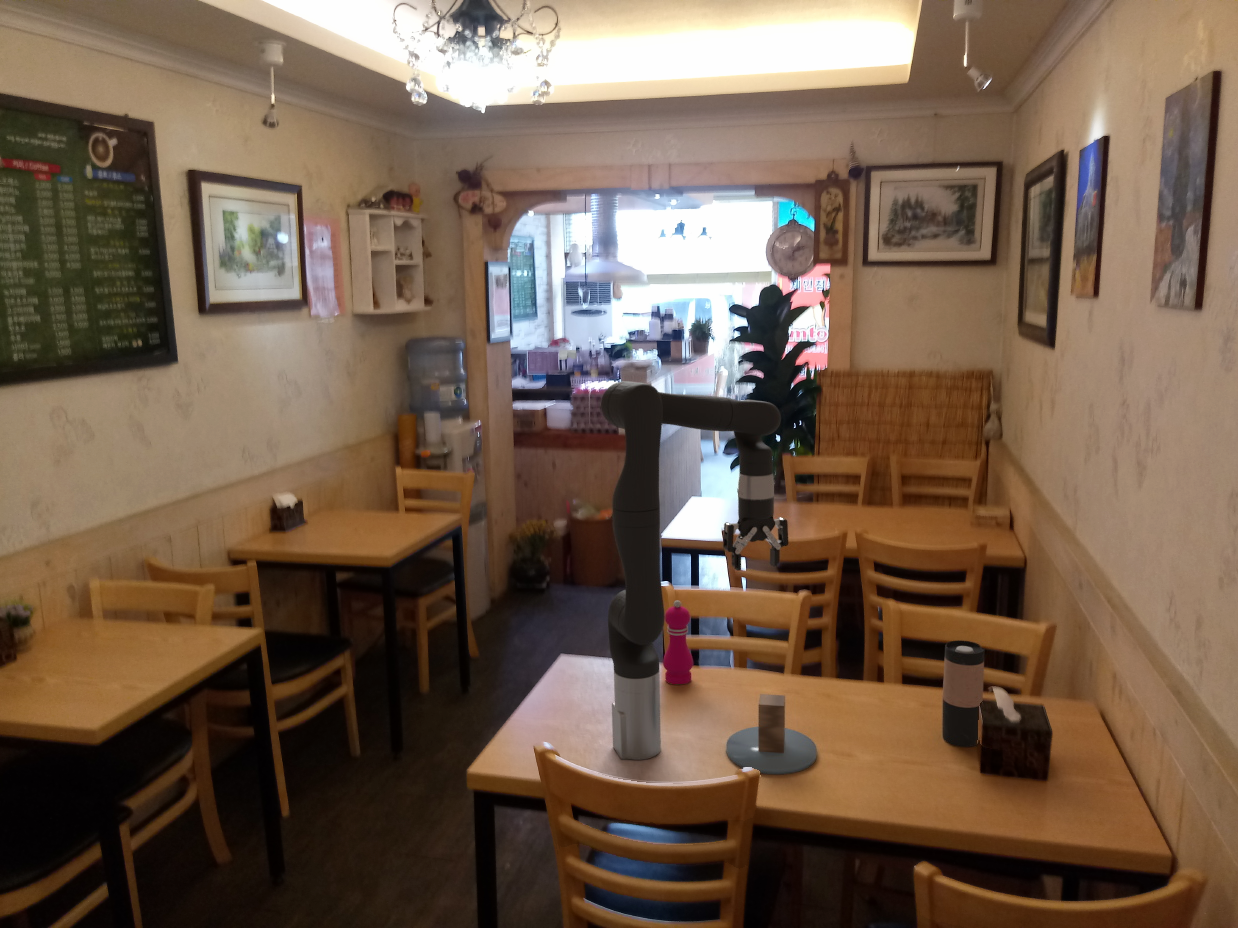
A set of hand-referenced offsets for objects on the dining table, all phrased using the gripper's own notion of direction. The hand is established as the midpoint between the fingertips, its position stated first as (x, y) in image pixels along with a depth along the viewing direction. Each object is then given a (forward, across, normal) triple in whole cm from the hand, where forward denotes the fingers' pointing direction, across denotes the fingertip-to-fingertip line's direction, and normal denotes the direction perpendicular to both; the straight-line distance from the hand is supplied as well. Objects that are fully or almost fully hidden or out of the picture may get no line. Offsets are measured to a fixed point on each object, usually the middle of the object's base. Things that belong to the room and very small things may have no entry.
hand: (755, 567), depth 201 cm
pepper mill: (+33, -10, +22) cm, 41 cm away
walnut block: (+32, -5, -18) cm, 37 cm away
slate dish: (+33, -5, -18) cm, 38 cm away
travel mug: (+33, +34, -26) cm, 54 cm away
